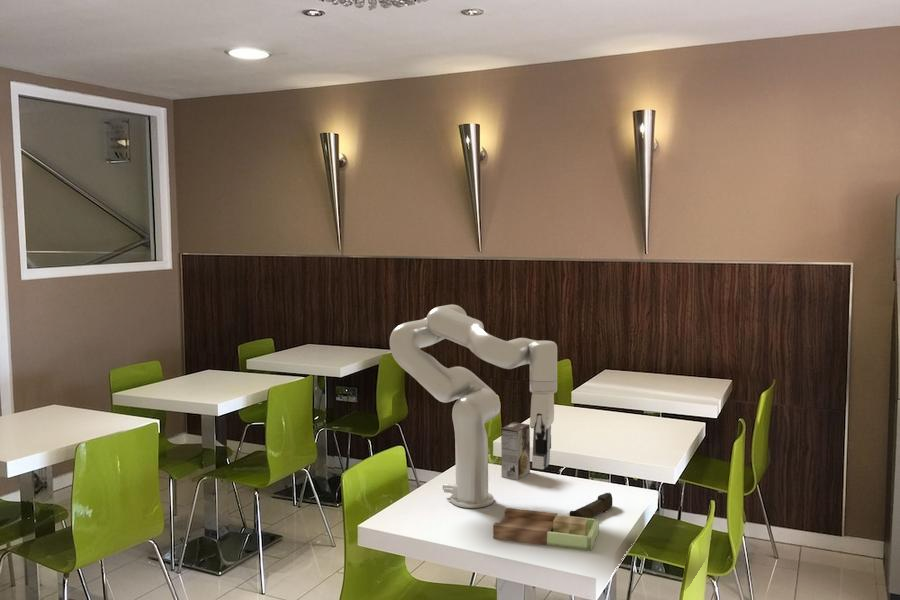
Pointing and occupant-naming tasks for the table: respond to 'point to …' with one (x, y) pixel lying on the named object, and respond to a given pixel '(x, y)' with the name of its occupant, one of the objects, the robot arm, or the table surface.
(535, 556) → the table surface
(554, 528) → the light brown cube
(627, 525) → the table surface
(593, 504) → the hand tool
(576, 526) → the light brown wooden block
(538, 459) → the cube with crossbar
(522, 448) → the coffee box
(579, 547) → the tray
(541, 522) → the slot board
